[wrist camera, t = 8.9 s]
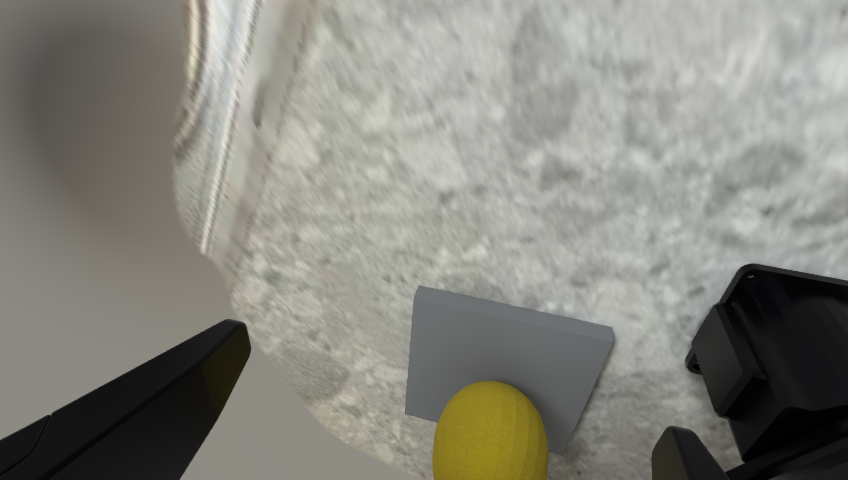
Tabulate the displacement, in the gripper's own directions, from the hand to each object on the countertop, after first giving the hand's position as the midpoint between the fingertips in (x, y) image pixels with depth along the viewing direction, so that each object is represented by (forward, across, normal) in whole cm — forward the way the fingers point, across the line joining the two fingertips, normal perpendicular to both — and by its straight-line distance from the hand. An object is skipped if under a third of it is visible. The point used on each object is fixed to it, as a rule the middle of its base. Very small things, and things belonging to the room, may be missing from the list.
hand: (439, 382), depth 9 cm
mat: (+12, -2, +13) cm, 18 cm away
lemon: (+11, -2, +13) cm, 17 cm away
